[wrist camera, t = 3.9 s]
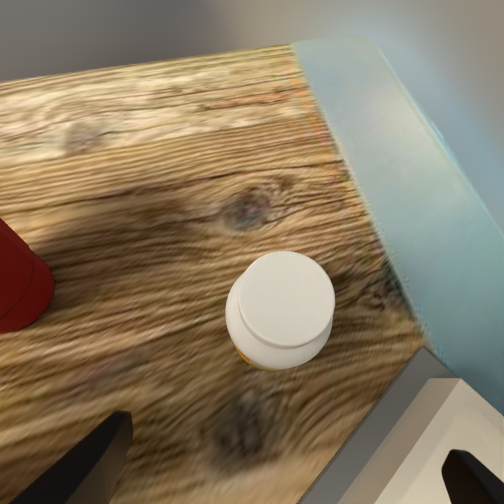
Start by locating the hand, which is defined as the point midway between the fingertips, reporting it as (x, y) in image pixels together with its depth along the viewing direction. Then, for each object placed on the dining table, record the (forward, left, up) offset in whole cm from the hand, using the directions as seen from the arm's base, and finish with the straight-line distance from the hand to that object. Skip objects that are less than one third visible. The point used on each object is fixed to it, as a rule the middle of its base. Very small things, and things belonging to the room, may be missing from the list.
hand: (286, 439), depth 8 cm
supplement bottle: (+4, +3, -11) cm, 12 cm away
